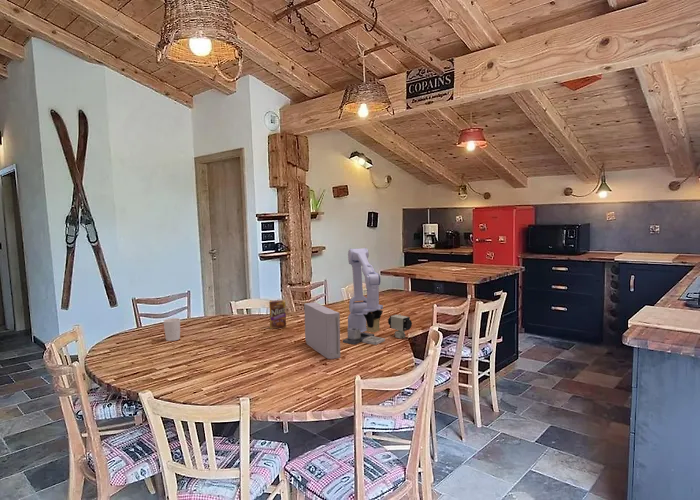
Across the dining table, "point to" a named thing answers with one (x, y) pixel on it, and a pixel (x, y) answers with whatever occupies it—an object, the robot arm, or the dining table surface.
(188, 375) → the dining table surface
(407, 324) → the pneumatic valve
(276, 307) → the candy box
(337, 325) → the game console
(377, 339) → the tray
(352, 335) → the grey rectangular block
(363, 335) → the rail
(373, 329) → the tan rectangular block
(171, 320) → the white cup
